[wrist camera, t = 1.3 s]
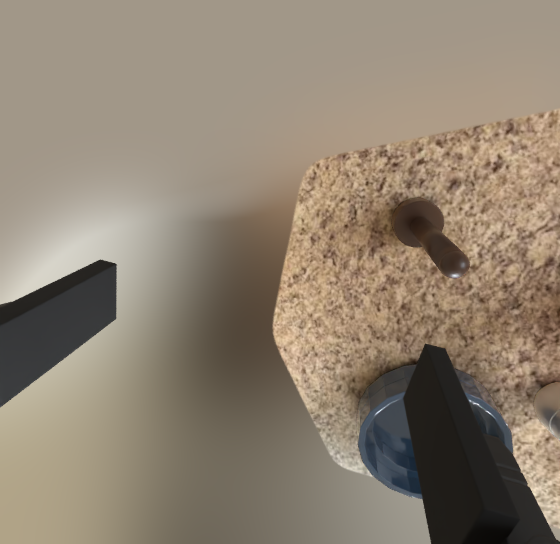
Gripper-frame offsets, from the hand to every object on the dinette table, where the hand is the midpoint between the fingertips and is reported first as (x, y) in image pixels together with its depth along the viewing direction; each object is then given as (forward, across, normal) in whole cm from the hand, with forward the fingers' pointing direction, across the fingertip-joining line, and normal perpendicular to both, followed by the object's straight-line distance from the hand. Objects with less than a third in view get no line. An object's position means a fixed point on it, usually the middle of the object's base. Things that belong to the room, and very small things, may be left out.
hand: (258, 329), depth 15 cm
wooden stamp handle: (+29, +11, +1) cm, 31 cm away
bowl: (+28, +20, -25) cm, 43 cm away
